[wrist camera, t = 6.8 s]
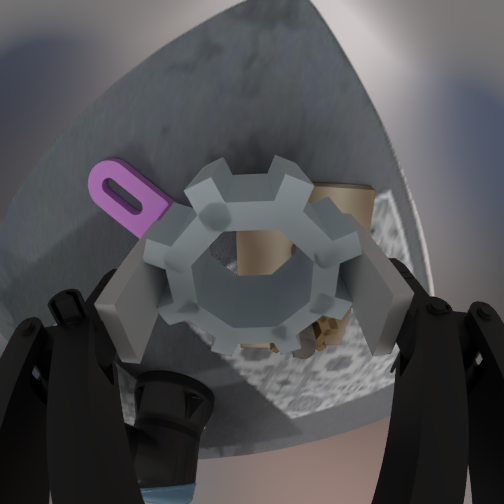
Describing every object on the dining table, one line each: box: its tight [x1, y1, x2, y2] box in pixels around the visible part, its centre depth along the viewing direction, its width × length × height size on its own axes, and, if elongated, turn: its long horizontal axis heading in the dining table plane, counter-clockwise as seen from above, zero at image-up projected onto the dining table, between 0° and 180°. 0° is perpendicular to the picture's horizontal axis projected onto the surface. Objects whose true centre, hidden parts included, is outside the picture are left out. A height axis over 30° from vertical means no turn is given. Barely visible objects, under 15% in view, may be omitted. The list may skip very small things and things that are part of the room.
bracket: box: [88, 158, 176, 239], centre depth 25 cm, size 13×6×7 cm, turn 48°
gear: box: [143, 155, 363, 356], centre depth 12 cm, size 8×8×4 cm
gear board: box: [236, 183, 376, 359], centre depth 28 cm, size 14×22×9 cm, turn 0°
